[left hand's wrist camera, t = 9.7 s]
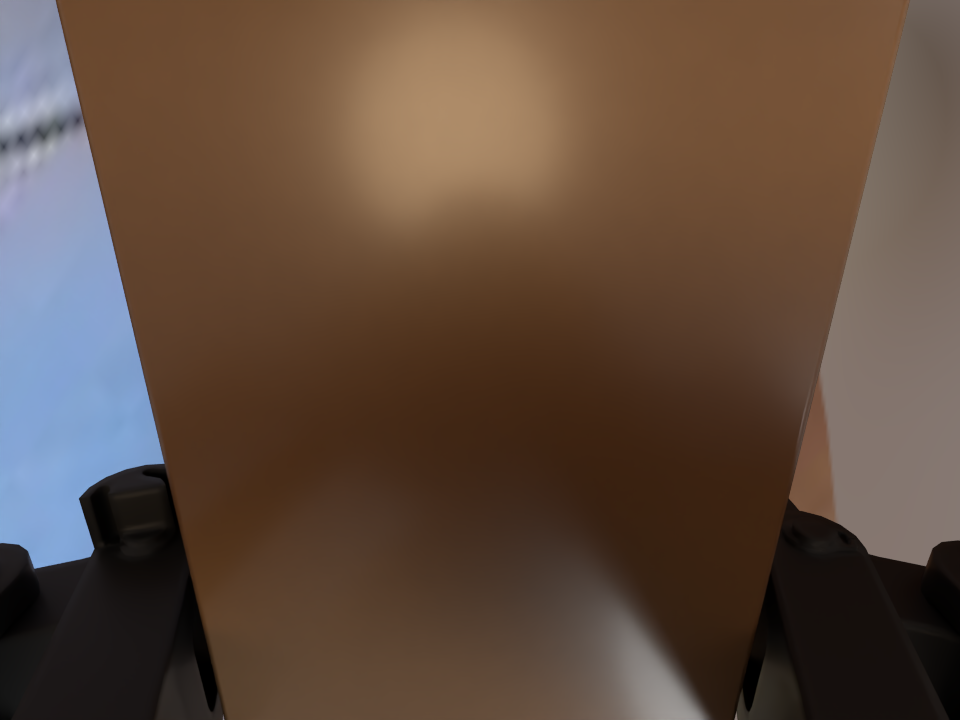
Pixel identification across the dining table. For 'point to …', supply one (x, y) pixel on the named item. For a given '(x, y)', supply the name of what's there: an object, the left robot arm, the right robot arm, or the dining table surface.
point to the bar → (481, 329)
